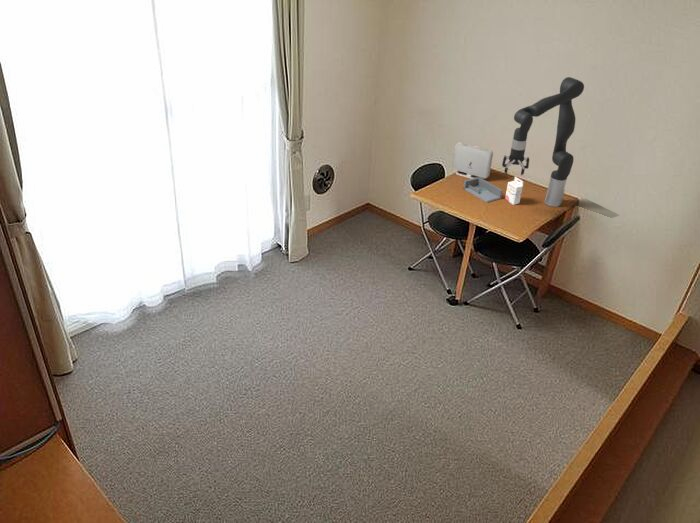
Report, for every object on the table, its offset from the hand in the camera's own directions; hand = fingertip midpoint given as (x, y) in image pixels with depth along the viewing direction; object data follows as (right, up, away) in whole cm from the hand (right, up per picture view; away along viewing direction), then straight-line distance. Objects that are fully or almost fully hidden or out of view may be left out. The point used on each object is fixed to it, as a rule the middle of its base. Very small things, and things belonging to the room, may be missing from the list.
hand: (513, 174), depth 315 cm
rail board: (-10, -7, +32) cm, 35 cm away
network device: (-13, +8, +56) cm, 58 cm away
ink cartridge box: (+6, -13, +24) cm, 28 cm away
